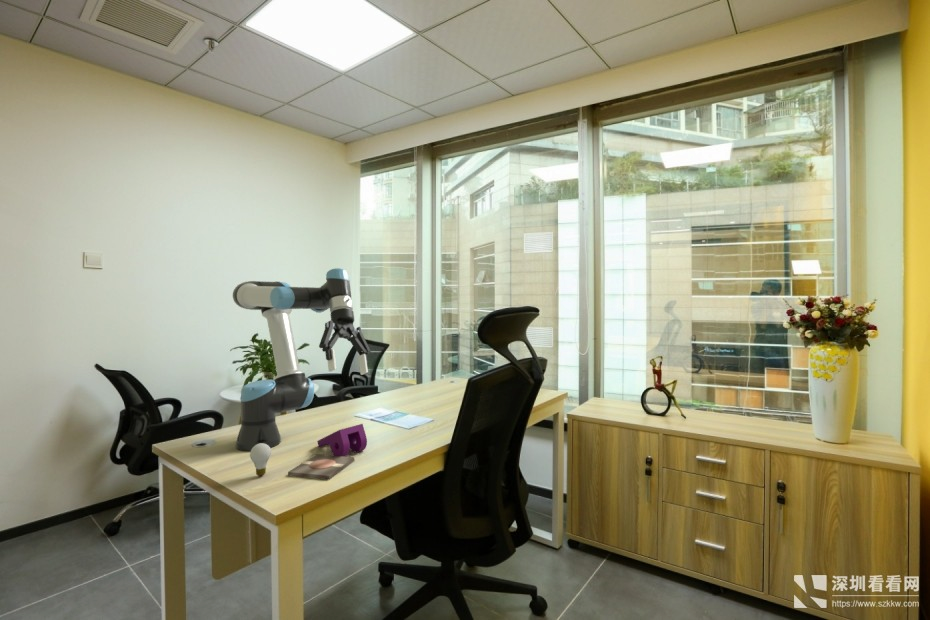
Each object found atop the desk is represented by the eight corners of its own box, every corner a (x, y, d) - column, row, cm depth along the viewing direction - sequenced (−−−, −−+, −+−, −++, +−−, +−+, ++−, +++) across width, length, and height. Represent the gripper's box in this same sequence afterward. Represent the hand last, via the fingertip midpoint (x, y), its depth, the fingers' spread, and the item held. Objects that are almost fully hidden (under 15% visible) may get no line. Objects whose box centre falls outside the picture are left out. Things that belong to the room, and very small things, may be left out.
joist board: (288, 475, 135) (288, 471, 135) (316, 457, 150) (316, 453, 150) (329, 479, 132) (329, 475, 131) (354, 460, 147) (354, 456, 147)
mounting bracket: (318, 467, 158) (346, 455, 147) (312, 443, 160) (339, 429, 150) (341, 459, 166) (369, 447, 155) (335, 437, 168) (362, 423, 157)
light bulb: (247, 476, 134) (247, 443, 134) (267, 470, 139) (266, 439, 138) (254, 481, 130) (253, 448, 130) (274, 476, 134) (274, 443, 134)
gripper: (319, 299, 137) (326, 364, 129) (375, 314, 157) (384, 371, 150) (303, 308, 140) (309, 372, 132) (360, 322, 160) (368, 378, 153)
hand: (349, 372), depth 141 cm, fingers open, 13 cm apart
